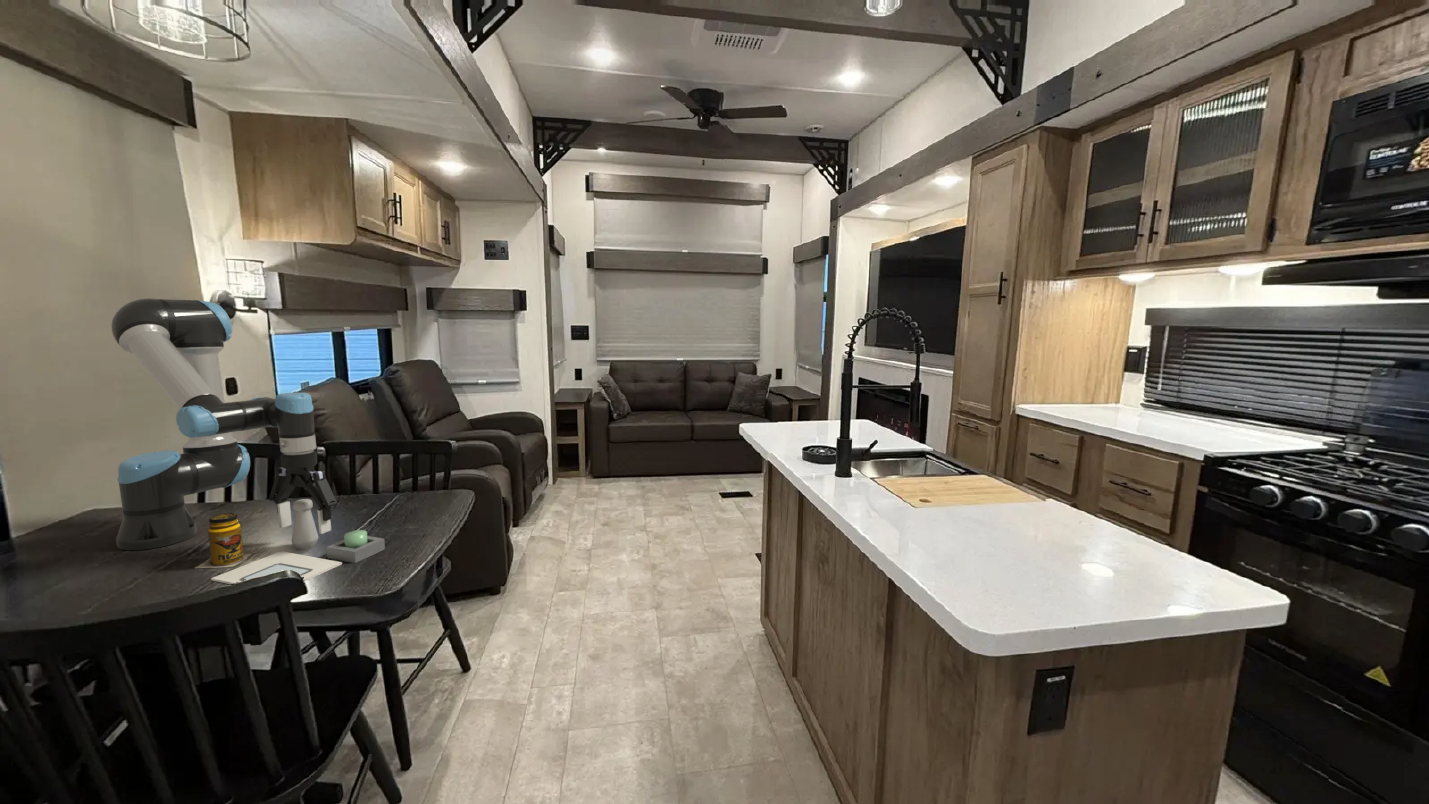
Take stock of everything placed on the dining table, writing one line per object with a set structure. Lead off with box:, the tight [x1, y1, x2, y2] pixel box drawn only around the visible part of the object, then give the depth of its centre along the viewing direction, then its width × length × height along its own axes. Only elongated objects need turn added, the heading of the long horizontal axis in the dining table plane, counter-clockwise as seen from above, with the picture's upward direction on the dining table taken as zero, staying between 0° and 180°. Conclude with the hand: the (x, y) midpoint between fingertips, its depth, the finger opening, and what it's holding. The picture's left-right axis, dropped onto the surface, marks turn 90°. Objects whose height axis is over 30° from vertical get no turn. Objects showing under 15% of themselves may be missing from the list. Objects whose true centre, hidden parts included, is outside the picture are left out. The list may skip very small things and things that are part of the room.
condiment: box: [194, 512, 252, 569], centre depth 135 cm, size 7×8×12 cm
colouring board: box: [210, 550, 343, 585], centre depth 131 cm, size 20×16×1 cm
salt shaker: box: [291, 498, 319, 551], centre depth 145 cm, size 6×6×13 cm
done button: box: [343, 529, 368, 549], centre depth 142 cm, size 5×5×4 cm
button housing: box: [326, 535, 386, 564], centre depth 143 cm, size 9×9×3 cm
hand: (305, 529), depth 145 cm, fingers open, 13 cm apart
